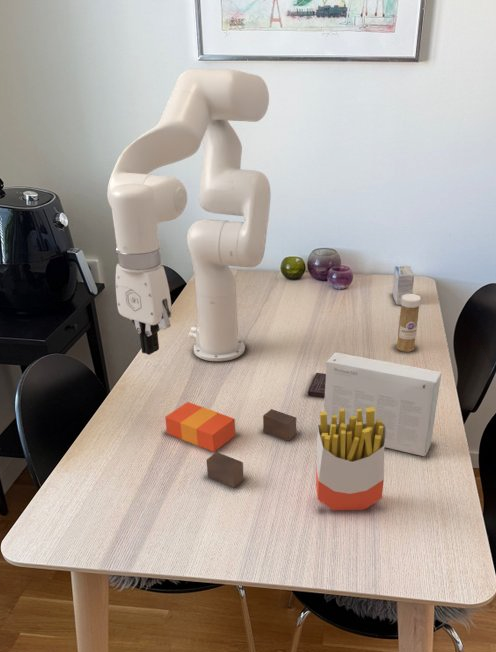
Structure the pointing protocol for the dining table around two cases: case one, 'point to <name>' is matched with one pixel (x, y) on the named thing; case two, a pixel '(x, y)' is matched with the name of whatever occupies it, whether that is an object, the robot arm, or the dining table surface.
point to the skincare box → (385, 398)
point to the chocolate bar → (318, 385)
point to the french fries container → (350, 461)
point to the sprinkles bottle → (408, 322)
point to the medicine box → (402, 282)
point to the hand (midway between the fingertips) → (150, 351)
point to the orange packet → (200, 426)
